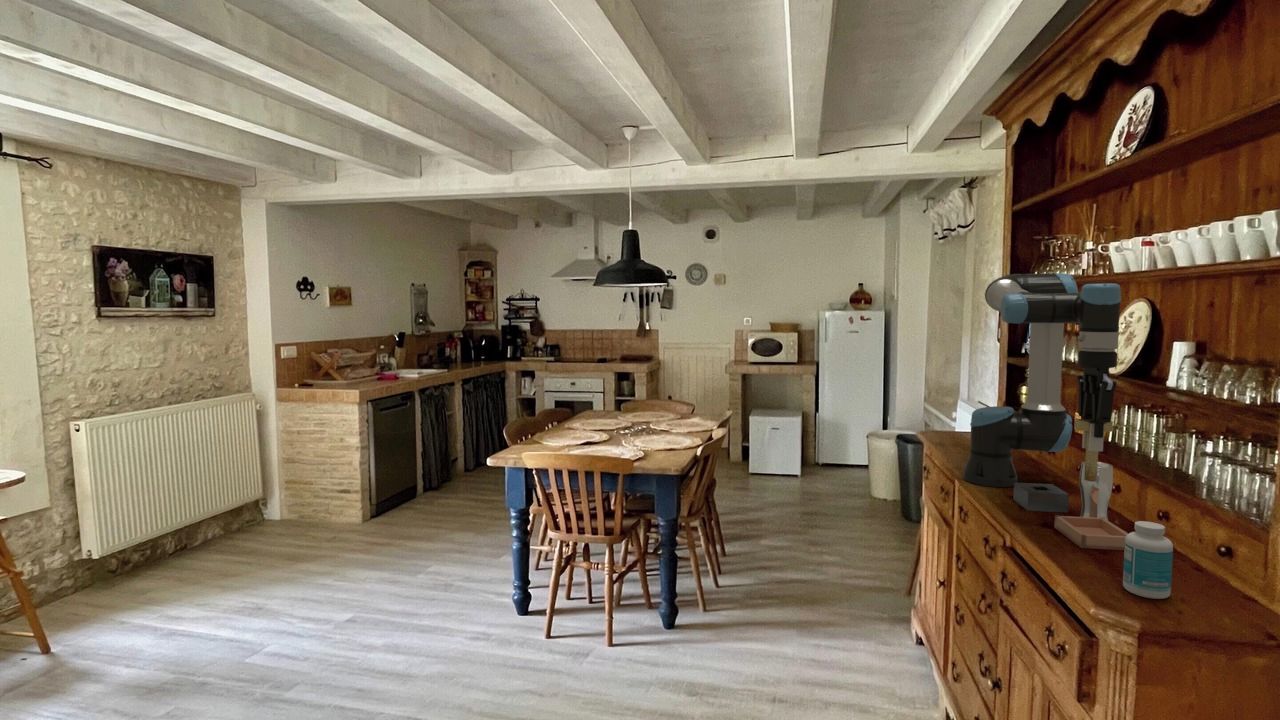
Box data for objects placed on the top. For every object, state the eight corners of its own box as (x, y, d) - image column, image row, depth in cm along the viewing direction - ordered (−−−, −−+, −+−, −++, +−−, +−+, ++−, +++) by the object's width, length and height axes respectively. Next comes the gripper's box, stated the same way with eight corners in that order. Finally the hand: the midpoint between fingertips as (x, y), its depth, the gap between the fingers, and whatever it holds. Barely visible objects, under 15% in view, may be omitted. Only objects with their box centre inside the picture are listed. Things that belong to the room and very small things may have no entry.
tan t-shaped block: (1104, 479, 156) (1107, 419, 155) (1109, 482, 154) (1112, 421, 153) (1071, 478, 158) (1074, 418, 156) (1076, 480, 155) (1079, 420, 154)
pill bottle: (1179, 597, 126) (1184, 528, 125) (1153, 603, 124) (1158, 533, 122) (1138, 581, 133) (1142, 516, 132) (1113, 587, 131) (1117, 521, 129)
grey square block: (1013, 499, 188) (1014, 482, 187) (1051, 501, 186) (1052, 484, 186) (1027, 510, 178) (1028, 492, 177) (1067, 512, 176) (1068, 494, 176)
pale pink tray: (1054, 527, 165) (1054, 515, 165) (1103, 529, 163) (1103, 518, 163) (1081, 547, 151) (1081, 535, 151) (1134, 550, 149) (1135, 538, 149)
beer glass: (1115, 526, 165) (1119, 468, 164) (1084, 525, 166) (1088, 467, 165) (1102, 517, 172) (1105, 461, 171) (1072, 516, 173) (1075, 460, 172)
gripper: (1064, 347, 161) (1060, 442, 163) (1096, 352, 146) (1090, 456, 148) (1098, 348, 160) (1093, 443, 162) (1134, 352, 145) (1128, 457, 147)
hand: (1092, 449), depth 155 cm, fingers closed on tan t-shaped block, 2 cm apart
